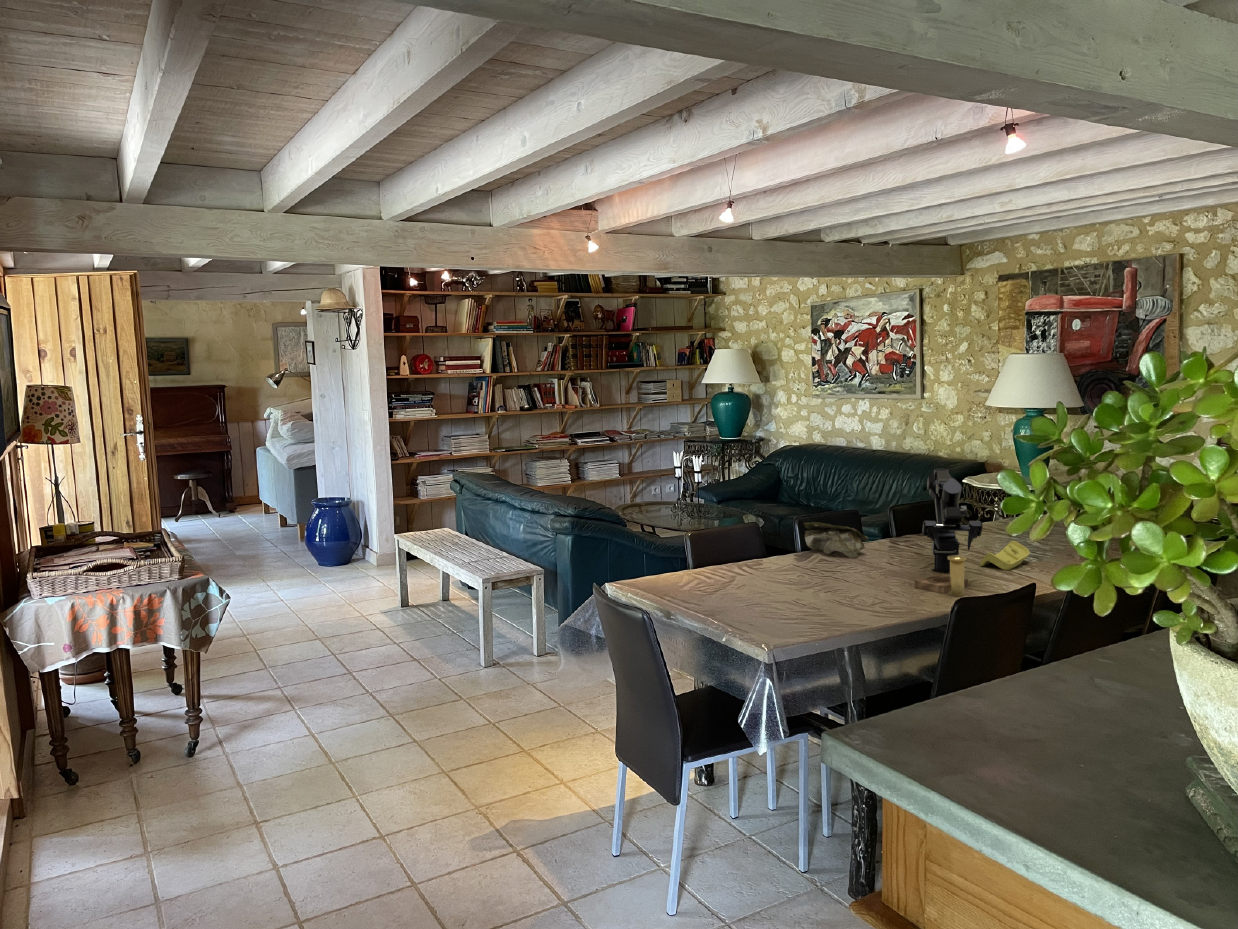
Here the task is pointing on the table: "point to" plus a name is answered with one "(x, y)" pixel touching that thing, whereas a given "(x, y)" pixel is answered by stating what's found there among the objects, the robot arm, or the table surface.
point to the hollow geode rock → (834, 538)
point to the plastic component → (1007, 556)
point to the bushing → (957, 574)
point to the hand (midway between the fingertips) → (954, 549)
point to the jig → (936, 583)
